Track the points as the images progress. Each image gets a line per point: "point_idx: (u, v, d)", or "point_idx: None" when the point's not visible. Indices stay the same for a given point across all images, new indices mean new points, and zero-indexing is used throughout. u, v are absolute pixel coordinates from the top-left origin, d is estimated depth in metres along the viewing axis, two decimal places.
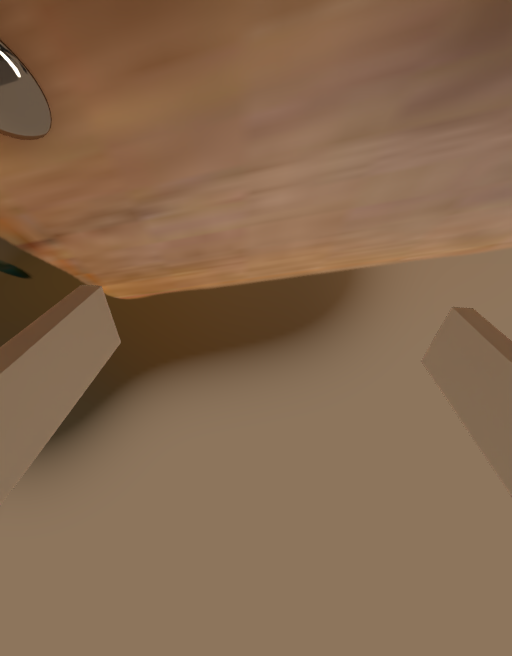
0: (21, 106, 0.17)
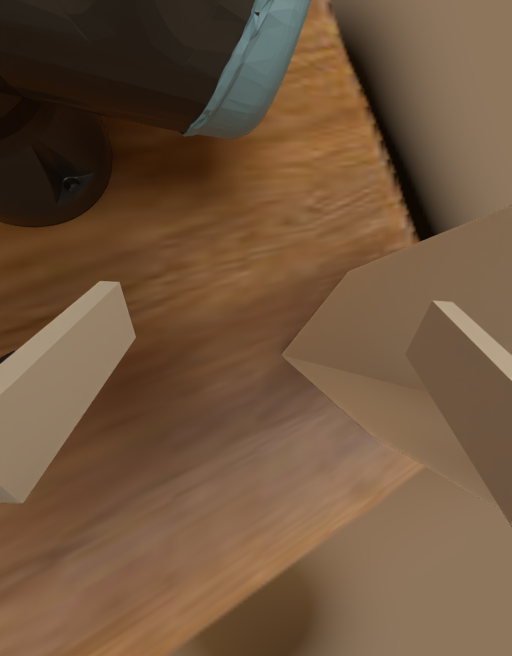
0: None
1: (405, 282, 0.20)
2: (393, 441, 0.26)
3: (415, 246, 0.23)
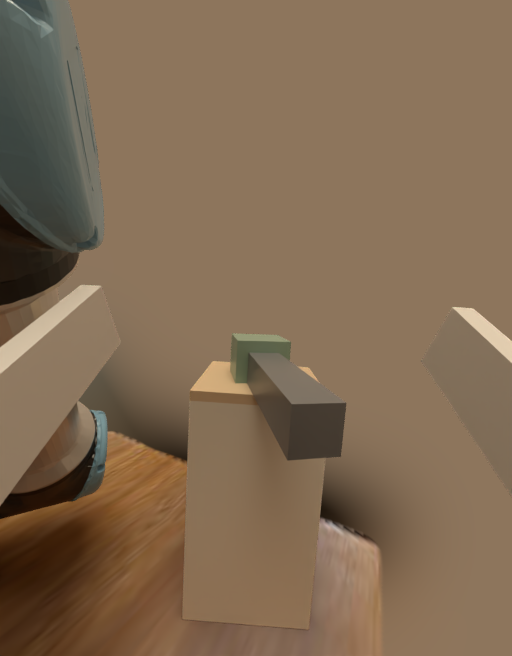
0: None
1: None
2: (287, 579, 0.32)
3: None
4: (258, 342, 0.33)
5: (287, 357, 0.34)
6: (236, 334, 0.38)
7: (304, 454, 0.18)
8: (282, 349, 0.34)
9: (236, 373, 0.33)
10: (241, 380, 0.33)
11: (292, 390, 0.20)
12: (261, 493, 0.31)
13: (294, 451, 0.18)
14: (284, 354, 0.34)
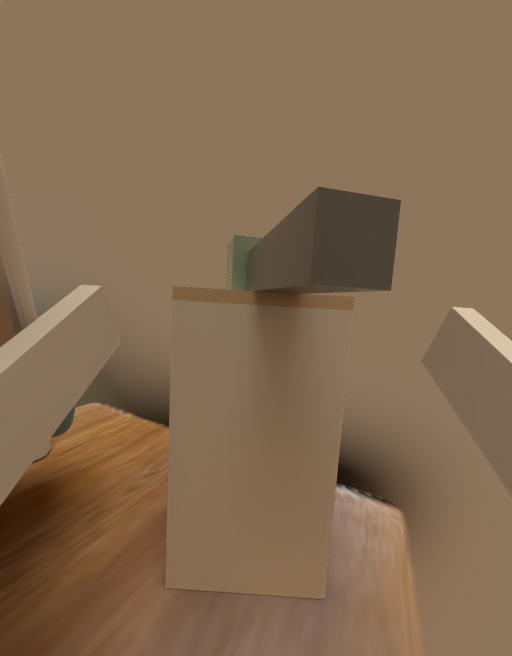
0: None
1: None
2: (298, 534, 0.25)
3: None
4: (260, 239, 0.26)
5: None
6: None
7: (336, 278, 0.11)
8: None
9: (232, 278, 0.26)
10: (239, 287, 0.27)
11: None
12: (265, 422, 0.24)
13: (321, 270, 0.11)
14: None
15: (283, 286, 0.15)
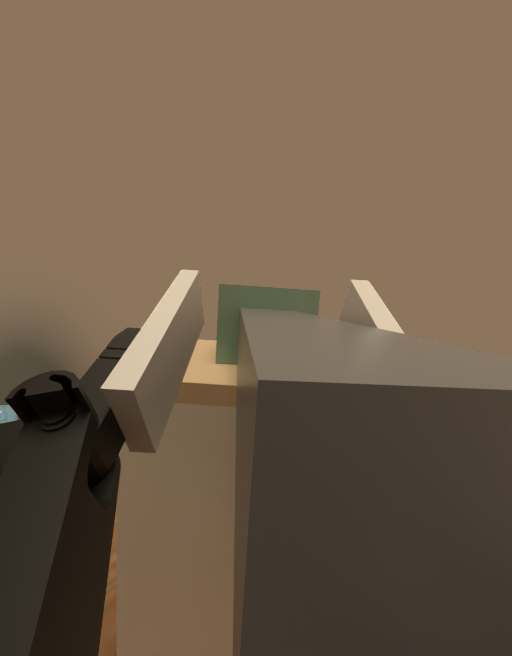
0: None
1: None
2: None
3: None
4: (258, 289, 0.18)
5: None
6: None
7: None
8: (303, 305, 0.18)
9: (217, 345, 0.18)
10: (226, 358, 0.18)
11: (301, 337, 0.05)
12: None
13: None
14: None
15: (235, 492, 0.06)
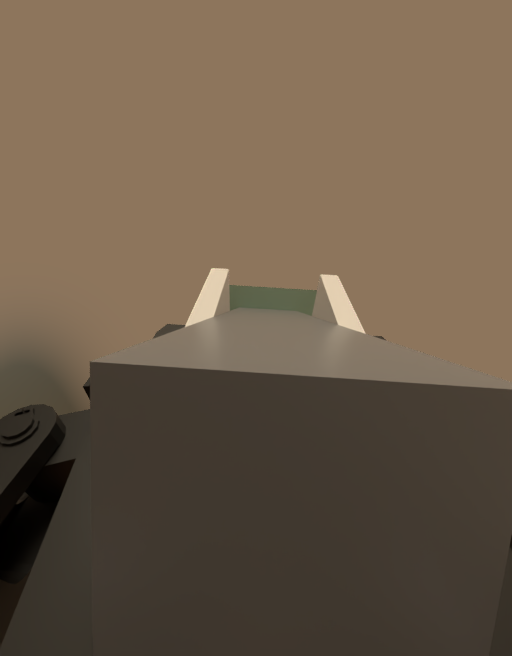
0: None
1: None
2: None
3: None
4: (257, 289, 0.18)
5: None
6: None
7: None
8: (302, 305, 0.18)
9: None
10: None
11: (229, 332, 0.05)
12: None
13: None
14: (306, 314, 0.18)
15: None
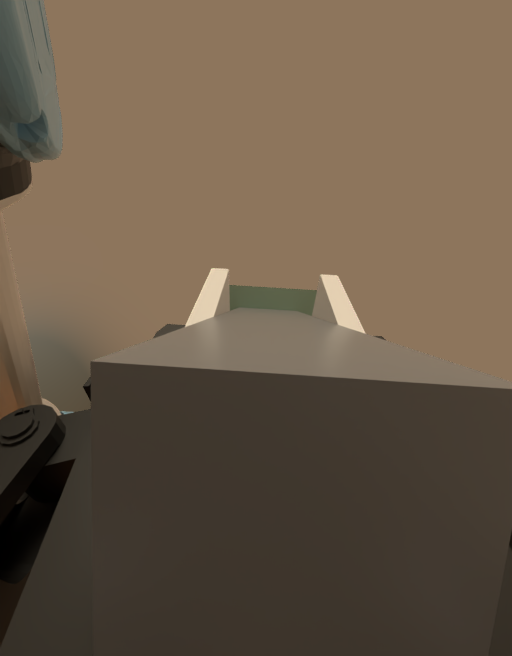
0: None
1: None
2: None
3: None
4: (257, 289, 0.18)
5: None
6: None
7: None
8: (302, 305, 0.18)
9: None
10: None
11: (229, 332, 0.05)
12: None
13: None
14: (306, 314, 0.18)
15: None
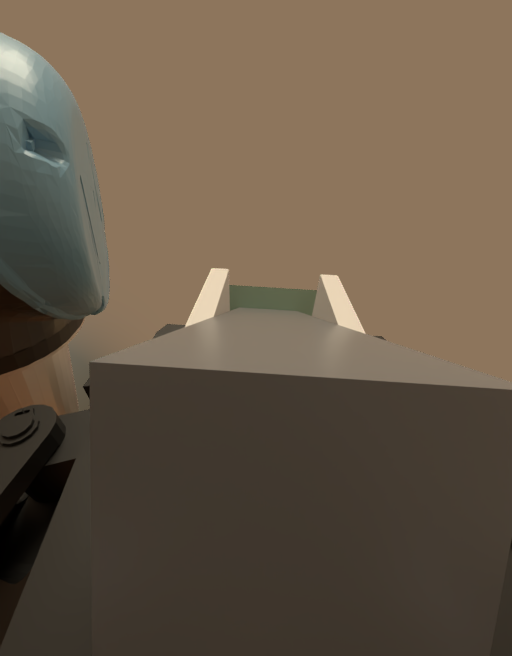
0: None
1: None
2: None
3: None
4: (257, 289, 0.18)
5: None
6: None
7: None
8: (302, 305, 0.18)
9: None
10: None
11: (229, 332, 0.05)
12: None
13: None
14: (306, 314, 0.18)
15: None
